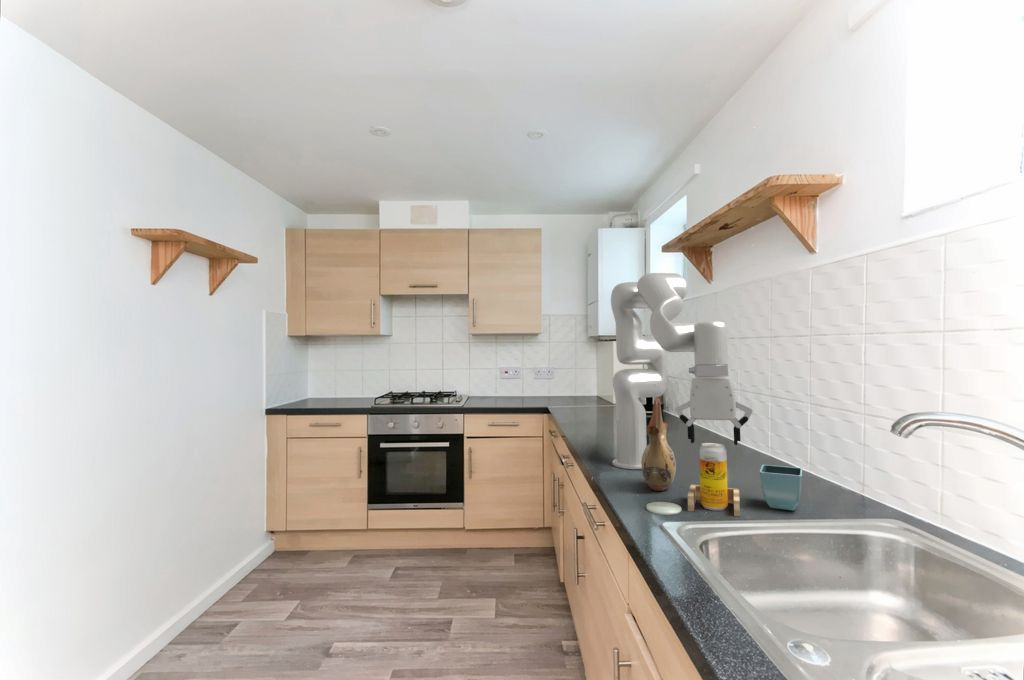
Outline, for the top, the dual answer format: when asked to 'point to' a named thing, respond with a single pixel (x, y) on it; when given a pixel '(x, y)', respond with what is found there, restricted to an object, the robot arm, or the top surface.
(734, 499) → the cradle
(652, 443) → the ceramic vessel
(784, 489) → the flower pot
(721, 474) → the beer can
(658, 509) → the coaster
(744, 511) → the top surface
